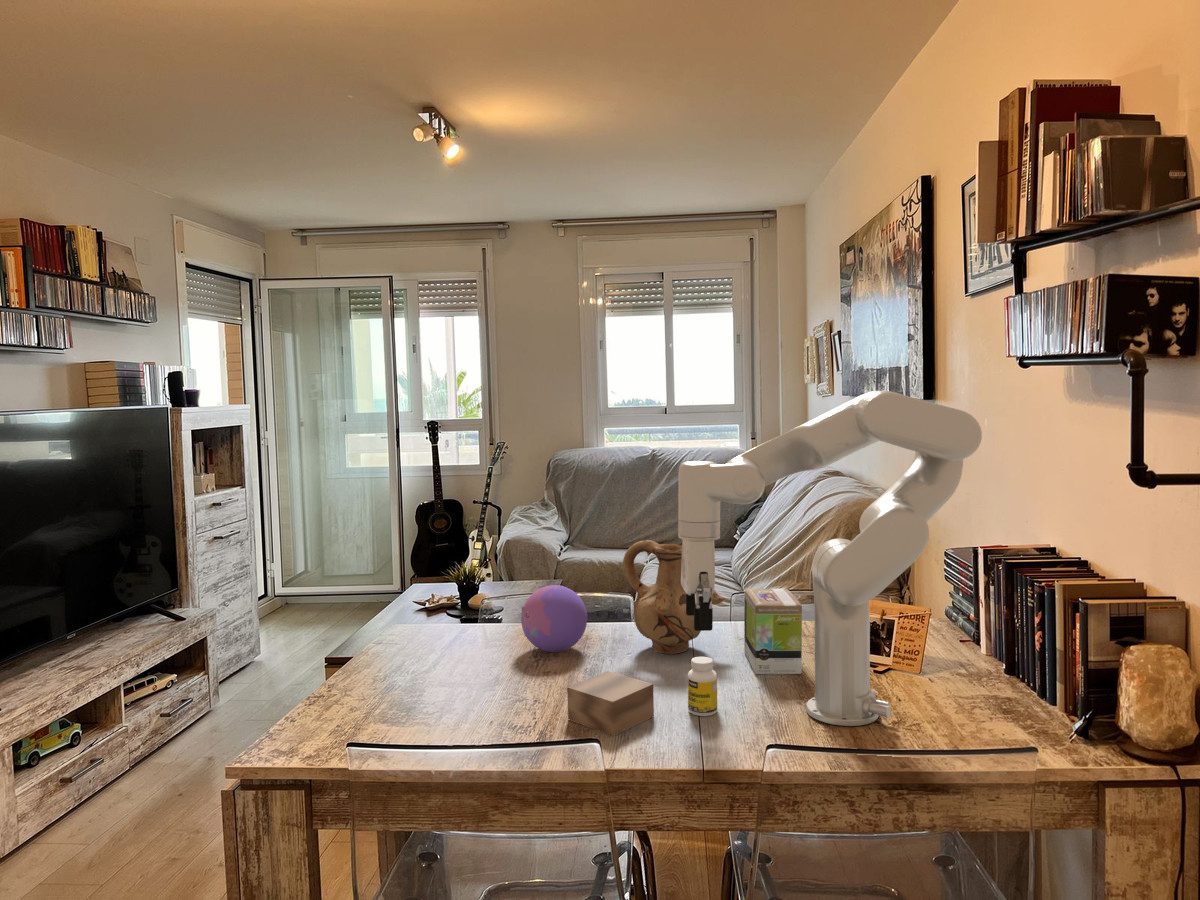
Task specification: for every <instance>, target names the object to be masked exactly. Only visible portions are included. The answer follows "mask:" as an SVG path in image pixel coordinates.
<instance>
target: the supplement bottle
mask: <svg viewBox="0 0 1200 900" xmlns="http://www.w3.org/2000/svg"><path fill="white" fill-rule="evenodd" d="M690 660H691V661H690V662H691V664H690V666H691V669H690V670H689V671H688V674H687V708H688V712H689V713H690V714H692V715H694V716H698V717H709V716H714V715H715V714H717V712H718V674H717V672H716V671H715V670H714V669H713V668H714V660H713V659H712V658H711V657H708V656H695V657H693V658H691V659H690Z"/></svg>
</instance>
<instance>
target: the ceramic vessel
mask: <svg viewBox="0 0 1200 900" xmlns="http://www.w3.org/2000/svg"><path fill="white" fill-rule="evenodd" d="M644 551H647V552H649V553H652V555H655V557H656V559H657V560H658V567H657V568H658V569H657V575H656V578H655V579H656V580H655V583H654V584H652V585H651V586H649V585H646V584H645V583H643V582H642V581H641V580H640V578H639V577H638V574H637V572H636V569H635V559H636V557H637V556H638V555H639V554H640V553H642V552H644ZM681 561H682V545H680V544H676V543H663V544H662V543H661V544H659V543H658V542H656V541H654V540H650V539H644V540H640V541H637V542H635V543H633V544H632V545H631V546H630V547H629V548H628V549H627V550H626V551H625V554H624V556H623V559H622V566H623V572H624V575H625V577H626V579H627V580H628V582H629V584H630V586H631V587H632V588H633V590H635V591H636V593H637V595H636V598H635V602H634V605H633V616H634V617H633V618H634V622H635V628H636V629H637V630H638V632H639V633H640V634H641V635H642V636H643V637H645V638H647V639H648V640H651V642H652V646H651V647H652V649H653V651H655V652H656V651H657V652H656V653H659V652H661V653H660V654H663V653H666V654H665V655H671V654H679V653H682V652H686V651H688V649H689V647H690V642H689V641H692V640H695V639H696V638H697V637H698V636H699V635H700V634H701V632H702V631H696V630H695V629H694V615H692V616H688V615H687V614H686V594H687V593H686V592H685V591H684V589H683V587H682V585H681ZM711 599H712V605H717V604H721V603H723V602H724V597H722V596H721V595H720V594H719V593H717V591H716V590H715V589H714V593H713V594H712V595H711Z"/></svg>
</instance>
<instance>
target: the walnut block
mask: <svg viewBox="0 0 1200 900" xmlns="http://www.w3.org/2000/svg"><path fill="white" fill-rule="evenodd" d="M566 690H567V692H566V693H567V720H568V719H570V720H572V721H571V722H573V721H575V722H574V723H576V722H577V723H576V724H579V723H580V725H582V726H584V725H585V727H587V728H590V729H593V730H597V731H599V732H602V733H604V734H607V735H610V736H616V735H618V734H621V733H623V732H625V731H626V730H629V729H631V728H633V727H635V726H636V725H639V724H641V723H644V722H645V721H647V720H649V719H651V718H654V717H655V714H654V713H655V712H654V711H655V709H654V708H655V707H654V701H655V699H654V683H651V682H647V681H644V680H641V679H637V678H635V677H634V678H633V677H630V676H627V675H623V674H619V673H615V672H613V671H605V672H603V673H600V674H597V675H595V676H592V677H590V678H588V679H586V680H585V679H584V680H583V681H580V682H578V683H575V684H573V685H569V686H567V687H566ZM570 720H569V721H570Z"/></svg>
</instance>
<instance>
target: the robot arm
mask: <svg viewBox="0 0 1200 900" xmlns="http://www.w3.org/2000/svg"><path fill="white" fill-rule="evenodd" d="M982 433H983V432H982V427H981V425H980V423H979V422H978V420H977V419H976V418H975V417H974V416H973V415H972V414H970V413H968V412H967V411H965V410H962V409H959V408H954V407H950V406H946V405H943V404H938V403H935V402H934V403H933V402H930V401H927V400H923V399H919V398H915V397H911V396H908V395H905V394H902V393H899V392H894V391H890V390H871V391H869V392H866V393H864V394H863V393H862V394H861V395H858V396H856V397H855V398H853V399H850V400H849V401H847V402H844V403H842V404H841V405H839V406H837V407H835V408H833V409H831V410H829V411H827V412H825V413H822V414H820V415H819V416H817V417H815V418H813V419H811V420H809V421H806V422H805V423H803V424H801V425H798V426H796V427H794V428H792V429H790V430H788V431H787V432H784V433H783V434H780V435H778V436H775V437H773V438H772V439H770V440H767V441H765V442H763V443H761V444H759V445H757V446H755V447H753V448H751V449H749V450H747V451H745V452H743V453H740V454H739V455H737V456H735V457H733V458H732V459H729V460H728V461H727V462H726V463H725V464H724V463H723V464H719V463H716V462H715V461H709V460H690V461H689V460H688V461H683V462H682V463H681V464H680V465H679V468H678V489H677V490H678V501H677V502H678V504H677V505H678V509H677V510H678V514H677V515H678V522H677V523H678V526H677V527H678V528H677V529H678V530H677V531H678V532H677V533H678V534H677V535H678V538H679V539H681V540H682V545H681V546H682V561H681V585H682V587H683V589H684V591H685V592H686V593H687V594H686V614H687V615H688V616H692V615H694V629H695V630H696V631H701V632H702V631H706V632H709V631H712V630H713V625H714V624H713V622H714V621H713V620H714V619H713V618H714V615H713V613H714V612H713V609H714V608H713V604H712V599H711V595H712V594H713V593H714V590H715V585H716V584H715V582H716V578H715V577H716V575H715V574H716V566H715V564H716V562H715V561H716V559H715V554H716V551H715V541H717V540H719V539H721V503H722V502H724V503H730V504H735V505H749V504H752V503H755V502H757V501H758V500H759V499H760V498H761V497H762V496H763V494H764V492H765V488H766V487H767V486H769V485H771V484H773V483H774V482H775V483H776V482H777V481H779V480H781V479H784V478H786V477H789V476H791V475H794V474H797V473H798V474H799V473H801V472H806V471H807V472H808V471H809V472H810V471H815V470H819V469H823V468H825V467H828V466H830V465H833V464H834V463H837V462H839V461H840V460H842V459H844V458H845V457H848V456H850V455H852V454H854V453H856V452H858V451H860V450H863V449H865V448H867V447H869V446H870V445H872V444H875V443H877V442H884V443H885V444H889V445H892V446H895V447H899V448H903V449H905V450H909V451H913V452H914V457H913V459H912V463H911V464H910V466H909V467H908V469H907V470H906V471H904V472H903V474H902V475H901V476H900V477H899V478H898V479H897V480H896V481H895V482H894V483H893V484H892V485H891V486H890V487H889V488H888V489H886V491H884V492H883V493H882V494H881V495H880V496H879V497H878V498H877V499H875V500H874V501H873V502H872V503H871V504H869V505H868V507H867V508H866V509H864V511H863V513H862V514H861V516H860V519H859V525H858V526H859V531H860V532H859V533H858V534H857V535H856V536H855V537H854V538H853V539H852V540H850V539H847V538H839V537H838V538H833V539H829V540H827V541H825V542H824V543H823V544H821V545H820V546H819V547H818V549H817V550H816V552H815V554H814V556H813V558H812V559H813V560H812V564H811V565H812V568H811V572H812V573H811V577H812V588H813V589H812V590H813V600H814V601H813V602H814V603H813V604H814V697H811V698H810V699H808V701H806V704H805V706H806V708H805V710H806V713H807V714H808V715H809V716H810V717H811V718H813V719H815V720H817V721H819V722H822V723H826V724H829V725H833V726H843V727H856V726H857V727H858V726H859V727H860V726H864V725H868V724H869V725H870V724H872V723H873V722H875V721H877V720H878V718H879V716H880V717H884V718H887V719H888V718H890V717H891V714H892V707H891V703H890V702H889V701H885V700H879V699H878V698H877V697H876V690H875V689H871V686H870V684H871V683H870V682H871V678H870V677H871V673H870V672H871V670H870V669H871V668H870V667H871V665H870V664H871V661H870V659H871V658H870V656H871V655H870V654H871V651H870V650H871V649H870V648H871V645H870V644H871V643H870V642H871V640H870V639H871V636H870V634H871V633H870V632H871V616H870V615H871V614H870V612H871V611H870V601H871V600H873V599H874V598H875V597H877V596H879V595H880V594H881V593H882V592H883V591H884V590H885V589H887V587H889V586H890V585H891V584H892V583H893V582H894V581H895V580H897V578H898V577H899V576H900V575H902V574H903V573H904V572H905V571H906V570H907V569H908V568H909V567H911V566H912V564H914V563H915V562H916V561H917V560H918V558H919V557H920V556H921V555H922V553H923V552H924V551H925V549H926V547H927V545H928V542H929V536H930V529H929V525H928V522H929V520H931V519H932V517H934V516H935V514H936V513H938V512H939V510H940V509H941V508H942V507H943V506H944V505H946V503H947V502H948V501H949V500H950V499H951V498H952V496H953V495H954V493H955V492H956V491H957V488H958V487H959V484H960V482H961V479H962V474H963V467H964V460H965V459H967V458H969V457H971V456H972V455H973V454H974V453H976V452H977V450H978V449H979V447H980V445H981V443H982V438H983V435H982Z"/></svg>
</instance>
